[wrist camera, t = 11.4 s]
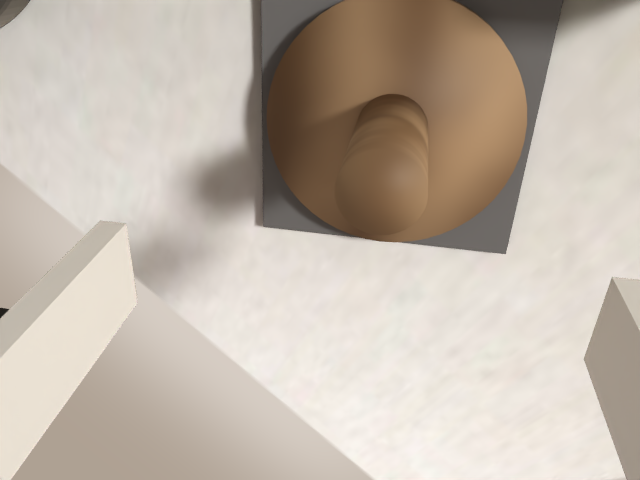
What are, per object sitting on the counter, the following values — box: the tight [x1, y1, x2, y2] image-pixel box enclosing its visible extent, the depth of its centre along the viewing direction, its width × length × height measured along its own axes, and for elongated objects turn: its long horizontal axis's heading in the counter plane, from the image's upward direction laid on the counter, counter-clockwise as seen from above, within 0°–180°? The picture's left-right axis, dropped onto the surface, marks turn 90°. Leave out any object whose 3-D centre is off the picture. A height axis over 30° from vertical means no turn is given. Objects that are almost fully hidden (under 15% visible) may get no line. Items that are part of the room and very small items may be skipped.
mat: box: [261, 0, 563, 254], centre depth 31 cm, size 14×14×1 cm
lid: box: [267, 0, 527, 242], centre depth 26 cm, size 13×13×9 cm
